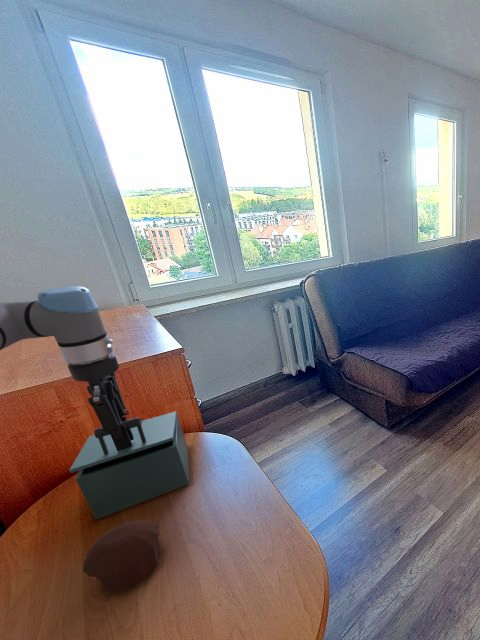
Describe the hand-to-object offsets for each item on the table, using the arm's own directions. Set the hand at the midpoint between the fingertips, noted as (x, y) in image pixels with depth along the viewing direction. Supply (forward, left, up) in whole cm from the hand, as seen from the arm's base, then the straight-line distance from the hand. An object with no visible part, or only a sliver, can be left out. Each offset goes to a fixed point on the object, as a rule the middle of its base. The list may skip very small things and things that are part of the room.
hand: (125, 444), depth 80 cm
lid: (-2, +5, -2) cm, 5 cm away
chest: (-2, +5, -16) cm, 17 cm away
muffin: (+9, -20, -16) cm, 27 cm away
